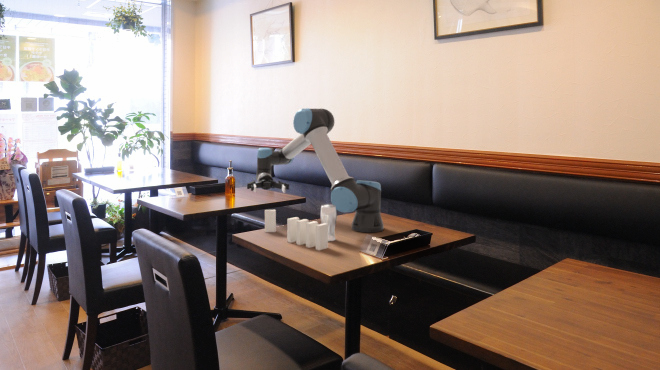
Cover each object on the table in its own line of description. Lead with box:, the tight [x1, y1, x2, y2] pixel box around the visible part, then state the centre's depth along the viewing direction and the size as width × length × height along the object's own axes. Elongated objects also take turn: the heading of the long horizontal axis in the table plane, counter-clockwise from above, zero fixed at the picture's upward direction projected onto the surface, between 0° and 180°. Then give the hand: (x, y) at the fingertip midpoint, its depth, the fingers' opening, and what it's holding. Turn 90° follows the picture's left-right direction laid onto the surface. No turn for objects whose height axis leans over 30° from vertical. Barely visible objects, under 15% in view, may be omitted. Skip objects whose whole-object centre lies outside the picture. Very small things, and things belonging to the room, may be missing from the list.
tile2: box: [286, 216, 300, 244], centre depth 207 cm, size 2×5×10 cm, turn 138°
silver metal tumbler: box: [320, 203, 338, 243], centre depth 209 cm, size 7×7×15 cm
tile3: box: [295, 218, 309, 246], centre depth 203 cm, size 2×5×10 cm, turn 139°
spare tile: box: [264, 209, 277, 233], centre depth 223 cm, size 2×5×10 cm, turn 98°
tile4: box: [305, 220, 319, 248], centre depth 200 cm, size 2×5×10 cm, turn 138°
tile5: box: [315, 223, 329, 251], centre depth 196 cm, size 2×5×10 cm, turn 138°
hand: (270, 189), depth 228 cm, fingers open, 13 cm apart
